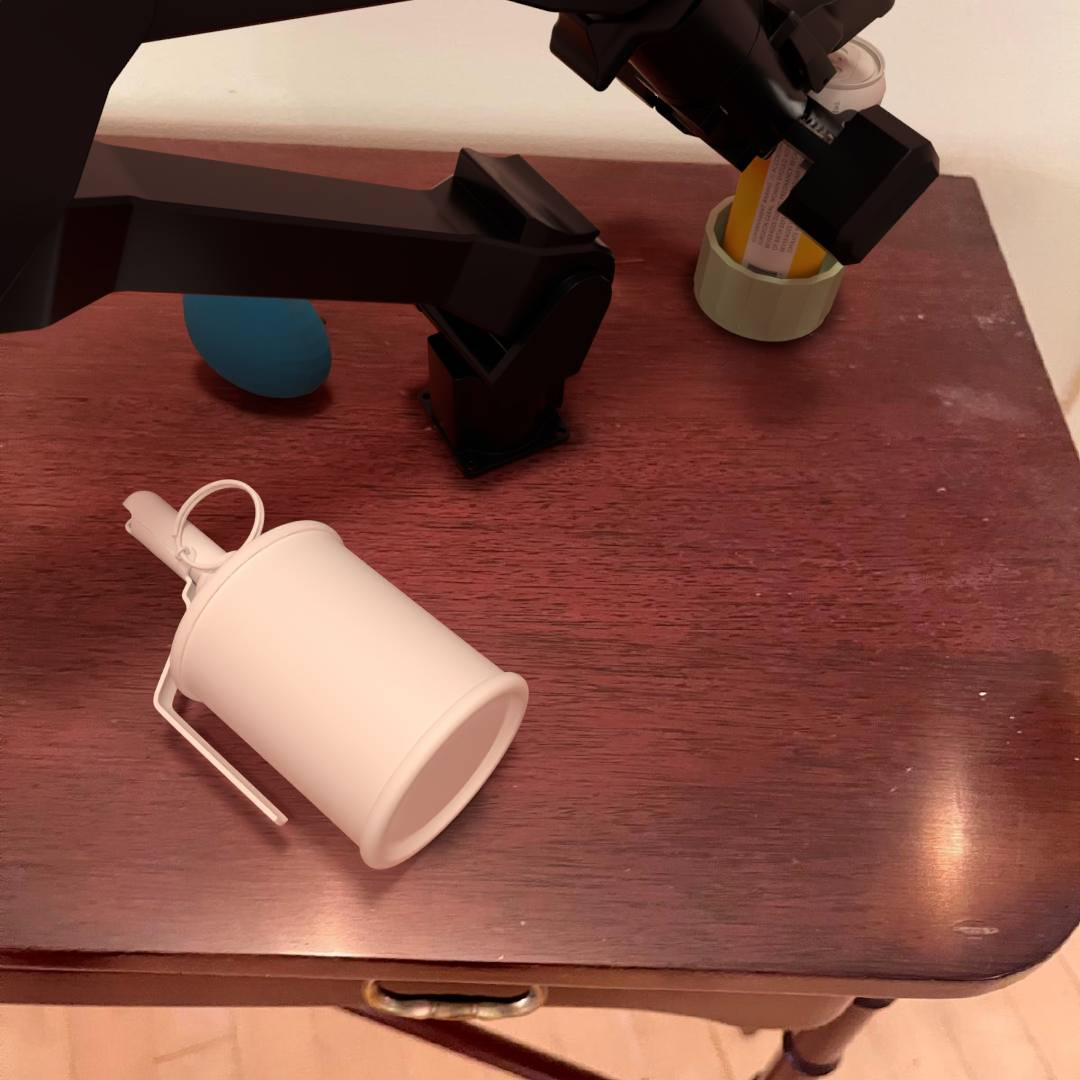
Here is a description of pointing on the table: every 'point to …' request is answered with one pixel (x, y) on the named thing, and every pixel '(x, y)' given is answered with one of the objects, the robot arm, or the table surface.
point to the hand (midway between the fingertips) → (811, 175)
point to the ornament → (261, 342)
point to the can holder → (759, 290)
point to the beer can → (796, 176)
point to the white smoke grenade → (329, 677)
